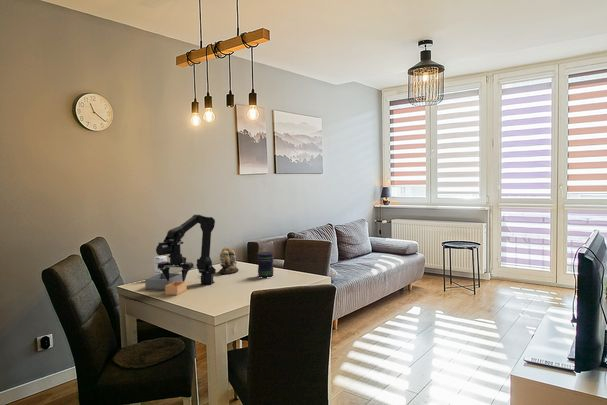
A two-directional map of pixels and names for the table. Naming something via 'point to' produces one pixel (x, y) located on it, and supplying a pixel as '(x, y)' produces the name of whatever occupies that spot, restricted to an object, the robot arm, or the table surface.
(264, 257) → the storage jar
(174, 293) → the orange crate
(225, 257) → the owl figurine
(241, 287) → the table surface
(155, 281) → the grey crate
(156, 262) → the syrup box
